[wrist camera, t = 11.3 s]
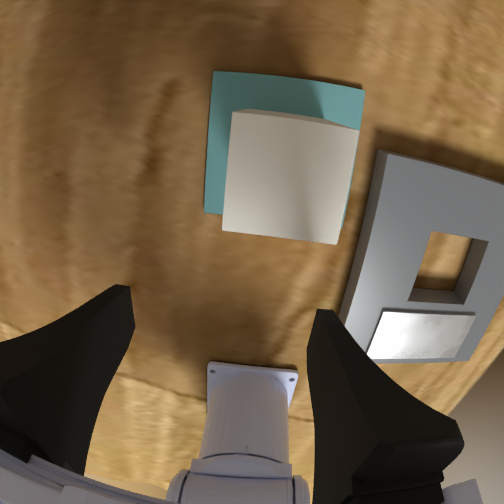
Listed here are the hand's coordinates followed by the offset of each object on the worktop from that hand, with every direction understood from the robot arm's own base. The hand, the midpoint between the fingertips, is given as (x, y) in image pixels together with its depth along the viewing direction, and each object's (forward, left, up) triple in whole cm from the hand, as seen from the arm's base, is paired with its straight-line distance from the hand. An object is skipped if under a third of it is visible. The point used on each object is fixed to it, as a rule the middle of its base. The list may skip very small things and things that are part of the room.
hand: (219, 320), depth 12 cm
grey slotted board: (-2, -15, -10) cm, 18 cm away
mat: (+5, -2, -10) cm, 12 cm away
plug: (+5, -2, -10) cm, 11 cm away
